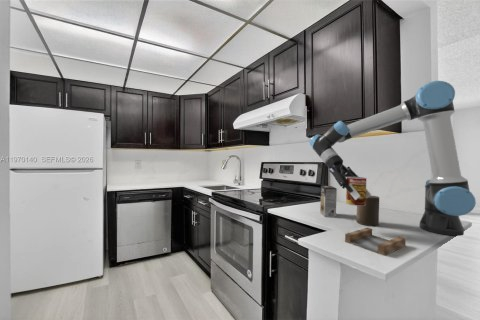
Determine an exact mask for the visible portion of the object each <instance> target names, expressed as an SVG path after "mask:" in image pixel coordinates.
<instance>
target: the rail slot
mask: <svg viewBox="0 0 480 320" xmlns="http://www.w3.org/2000/svg"><path fill="white" fill-rule="evenodd" d="M344 239H345V240H344V242H345V243H348V244H350V245H353V246H356V247H359V248H362V249H364V250H366V251H367V250H368V251H371V252H374V253H375V254H379V255H382V256H386V255H388V254H391V253H394V252H395V251H397V250H400V249H401V248H403V247H406V240H407V239H406V237H402V236H397V237H395V238H392V239H386V238H383V237H380V236H377V235H373V228H370V227H365V228H361V229H357V230H355V231H351V232H347V233H345V236H344Z"/></svg>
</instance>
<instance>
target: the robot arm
mask: <svg viewBox="0 0 480 320" xmlns="http://www.w3.org/2000/svg"><path fill="white" fill-rule="evenodd" d="M455 95H456V90H455V87H454V86H453V85H452V84H451V83H449V82H447V81H444V80H434V81H429V82H428V83H425V84H423V85H422V86H421V87H420V88H419V89H418V90H417V91H416V92H415V95H414V96H412V97H411V98H409V99H406V100H404V101H401V103H400V104H399V105H397V106H394V107H392V108H390V109H387V110H384V111H382V112H379V113H376V114H373V115H371V116H368V117H365V118H362V119H359V120H357V121H355V122H352V123H349V124H345V123H344V122H343V120H338V121H337V122H336V123H334V124H333V125H332V126H331V127H330V128H329V129H327V131H326V132H324V133H323V134H316V135H313V136H312V137H311V138H310V139H309V145H310V146H311V148H312V150H313V151H314V152H315V153H316V154H317V155H318V157H320V159H321V160H322V162H323V163H324V164H325V166H327V168H328V169H329V172H330V173H331V174H332V176H333V177H334V179H335V181H336V182H337V184H338V185H339V187H341V189H347V190H348V192H349V193H350V194H351V195H352V197H353V198H354V199H355V200H357V199H358V198H359V197H360V195H359V193H358V192H357V191H356V190H355V189H354V187H353V186H352V185H351V184H349V183H348V181H347V177H359V175H358V174H356V172H355V171H354V170H352V168H351V167H350V166H347V167H346V165H344V164H343V163H344V160H343V159H342V157H341V156H340V155H339V154H338V153H337V151H336V150H335V149H334V148H333V146H335V144H337V143H344V142H345V141H348V140H350V139H353V138H357V137H359V136H362V135H366V134H368V133H371V132H374V131H376V130H379V129H382V128H386V127H388V126H391V125H394V124H397V123H401V122H404V121H405V120H407V121H411V120H412V121H413V120H415V119H417V120H419V121H421V122H422V124H423V130H424V135H425V141H426V146H427V147H426V148H427V152H428V158H429V162H430V168H431V174H432V178H431V179H427V180H426V181H425V184H424V189H425V192H424V193H425V195H424V212H423V214H422V216H421V218H420V220H419V228H420V229H422V230H424V231H427V232H430V233H434V234H440V235H445V236H452V237H453V236H454V237H455V236H456V237H458V236H463V235H465V229H464V226H463V223H462V222H461V218H460V216H465V215H467V214H469V213H471V212H472V211H473V210H474V208H475V207H476V203H477V202H476V197H475V195H474V194H473V193H472V192H471V191H470V187H469V181H468V179H467V178H465V177H464V176H462V173H461V169H460V167H461V166H460V162H459V161H460V160H459V157H458V152H457V146H456V141H455V135H454V130H453V126H452V119H451V117H452V115H453V114H454V113H455V107H454V99H455ZM370 195H372V193H371V192H370V191H369V190H368V189H367V188H366V198H368V197H369V196H370Z"/></svg>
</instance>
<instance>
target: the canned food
mask: <svg viewBox="0 0 480 320" xmlns="http://www.w3.org/2000/svg"><path fill="white" fill-rule="evenodd" d="M346 179H347V181H348V183H349V184H351V185H352V186H353V187H354V189H355V190H356V191H357V192H358V193H359V195H360V197H359V198H358V199H357V200H355V199H354V198H353V197H352V195H351V194H350V193H349V192H348V190H347V189H346V188H345V189H346V190H345V191H346V193H345V195H346V196H345V198H346V199H345V204H347V205H349V206H354V207H355V206H356V207H357V206H365V205H366V189H367V177H364V176H363V177H362V176H358V177H346Z"/></svg>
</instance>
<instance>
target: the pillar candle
mask: <svg viewBox="0 0 480 320" xmlns="http://www.w3.org/2000/svg"><path fill="white" fill-rule="evenodd" d="M379 218H380V196H378V195H372V194H371V195H370V196H369V197H368V198H366V205H365V206H356V223H357V224H360V225H363V226H369V227H377V226H379V220H380V219H379Z"/></svg>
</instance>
